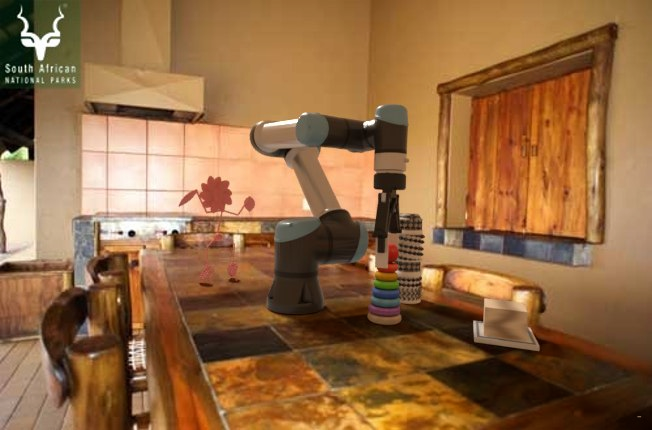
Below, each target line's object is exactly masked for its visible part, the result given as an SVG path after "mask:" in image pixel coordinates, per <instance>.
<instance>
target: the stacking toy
mask: <svg viewBox="0 0 652 430" xmlns="http://www.w3.org/2000/svg"><path fill="white" fill-rule="evenodd" d="M398 255H399V251H398V248H397V247H396V246H395V245H394V244H392V243H389V246H388V268H377V267H375V268H376V271H375V272H374V278H375V279H374V281H373V286H374V287H373V288H372V290H371V294H372V295H371V297H370V302H371V303H369V305H368V313H367V319H368V320H369V321H370V322H372V323H373V324H376V325H377V324H378V325H383V326H393V325H397V324H399V323H401V320H402V315H401V314H400V312H401V307H400V305H401V303H400V298H399V297H398V296H399V294H400V292H399V290H398V289H397V288H398V287H399V282H398V281H397V278H398V274H397V273H396V272H395V271H397V269H398V266H397V264H396V263H394V262H395V261H396V260H397V258H398Z"/></svg>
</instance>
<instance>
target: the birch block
mask: <svg viewBox="0 0 652 430" xmlns="http://www.w3.org/2000/svg"><path fill="white" fill-rule="evenodd" d="M528 313H529V312H528V310H527V307H526V305H525V303H524V302H522V301H521V302H520V301H511V300H503V299H495V298H486V297H485V298H484V299H483V321H482V322H483V331H484V335H486V336H493V337H500V338H507V339H514V340H521V341H526V333H527V327H528V315H529V314H528Z"/></svg>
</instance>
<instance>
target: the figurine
mask: <svg viewBox="0 0 652 430" xmlns="http://www.w3.org/2000/svg"><path fill="white" fill-rule="evenodd" d="M200 187H201V192H199V191H198V189H197V188H195V189H194V190H191V191H189V192H188V193H186V194H185V195H184V196H183V197H182V198H181V200H180V202H179V204H178V207H179V208H180V207H182V206H184V205H186V204H187V203H189V202H190V201H191V200H192V199H194V197H195V195H197V197H198V199H199V201H200V203H201V206H202V208H203V210H204V212H205V214H216V213H218V212H220V215H219V221H218V227H217V231H216V233H215V234H214V237H213V239H212V240H211V241H210V242H209V243H208V245H206V267H205V268H204V269H203V270H202V272H201V273H200V275H199V276H200V277H199V280H198V281H199V283H201V282H202V281H203V280H204V279H205V278H206V277H207V276H206V275H209V281H210V285H211V284H214V283H213V278H212V274H211V268H212V266H211V264H209V250H208V249H209V246H210V245H212V243H213V242H214V241H216V242H221V241H222V240H223V241H226V242H228V243H230V244H232V245H233V249H232V250H233V251H232V261H231V263H230V264H229V265H228V266H227V268H226V272H227V275H228V276H230V277H232V278H233V277H234V278H235V282H237V281H238V276H237V274H236V273H237V272H238V270H239V266H238V264H237V263H236V262H235V261H234V258H235V249H236V244H235V242H232V241H229V240H228V239H226V238H224V236H223V234H222V233H220V232H219V231H220V228H221V227H220V226H221V223H222V219H223V218H222V217H223V213H227V214H231V215H233V216H234V215H235V216H237V217H239V215H240V214H241V213H242V211H243V210H244V208H245V210H247V211H248V212H249V213H250V212H252V211H253V209H254V208H255V205H256V201H255V199H254V198H253V197H252V196H250V195H248V197H246V198H245V199H244V200H243V205H242V207H241V208H240V210H239V211H238V212H237V213H235V212H231V211H229V210H226V205H227V206H232V204H233V200H232V197H231V196H232V194H233V192H232V190H231V189H229V187H230V181H229V180H225V179H224V180H222V177H221V176H216V177H215V178H214V177H213V175H209V176H208V178H207V181H206V183H205V182H202V183H201V184H200ZM208 208H210V210H209V211H208V210H207V209H208ZM251 279H253V277H252V276H251Z"/></svg>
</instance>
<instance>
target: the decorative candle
mask: <svg viewBox="0 0 652 430" xmlns="http://www.w3.org/2000/svg"><path fill="white" fill-rule="evenodd" d="M399 214H400V229H402V233H397V234H399V243H398V251H399V255H398V260H396V261H395V262H393V263H396V264H397V266H398V269H397V271H395V272H396V273H397V274H398V278H397V281H398V282H399V287H398V288H397V289H398V290H399V292H400V294H399V296H398V297H399V298H400V304H405V305H407V304H408V305H414V304H415V305H416V304H419V303H421V301H422V300H421V297H422V288H421V287H420V286H422V279H423V277H422V270H421V267H422V266H421V265H422V263H421V262H423V258H421V257H423V256H424V253H423V252H422V251H424V250H425V249H424V247H422V246H423V245H424V244H425V240H424V239H425V237H426V236H425V235H424V234H423V230H424V229H423V220H424V218H421V215H420V214H419V213H410V212H409V213H407V212H405V213H404V212H402V213H400V212H399Z"/></svg>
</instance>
